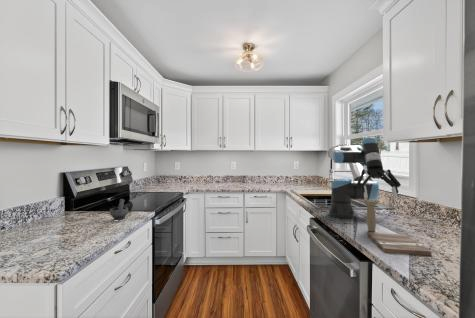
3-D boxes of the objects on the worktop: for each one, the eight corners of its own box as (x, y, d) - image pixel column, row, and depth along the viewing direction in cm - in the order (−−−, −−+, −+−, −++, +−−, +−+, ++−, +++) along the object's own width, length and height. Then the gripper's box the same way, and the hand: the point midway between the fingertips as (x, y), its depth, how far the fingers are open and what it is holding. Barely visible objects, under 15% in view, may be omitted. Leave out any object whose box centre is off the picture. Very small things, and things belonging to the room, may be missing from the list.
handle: (371, 228, 123) (369, 199, 123) (380, 232, 117) (379, 201, 117) (362, 229, 122) (361, 200, 122) (372, 233, 116) (370, 202, 116)
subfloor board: (367, 235, 113) (367, 231, 112) (405, 237, 109) (405, 233, 109) (384, 252, 93) (384, 247, 93) (431, 255, 90) (431, 250, 90)
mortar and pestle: (124, 222, 139) (123, 201, 139) (107, 222, 138) (107, 202, 138) (130, 217, 151) (130, 198, 150) (115, 217, 150) (115, 198, 150)
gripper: (350, 158, 130) (356, 195, 119) (401, 159, 125) (412, 197, 114) (347, 165, 136) (352, 200, 125) (396, 166, 131) (405, 202, 120)
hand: (381, 199), depth 120 cm, fingers open, 13 cm apart
